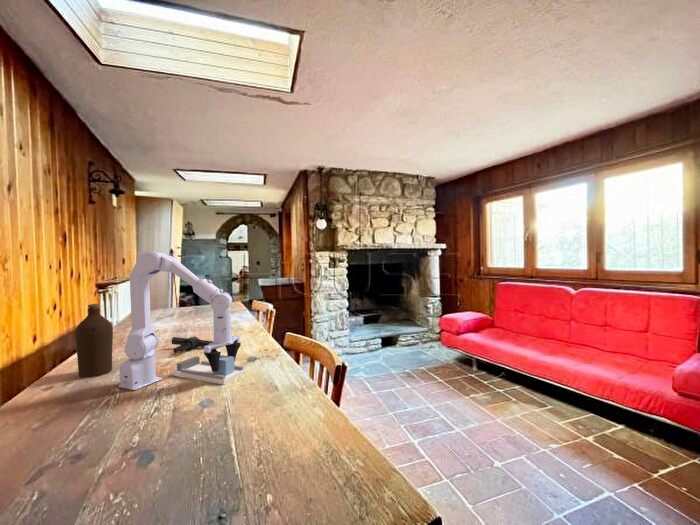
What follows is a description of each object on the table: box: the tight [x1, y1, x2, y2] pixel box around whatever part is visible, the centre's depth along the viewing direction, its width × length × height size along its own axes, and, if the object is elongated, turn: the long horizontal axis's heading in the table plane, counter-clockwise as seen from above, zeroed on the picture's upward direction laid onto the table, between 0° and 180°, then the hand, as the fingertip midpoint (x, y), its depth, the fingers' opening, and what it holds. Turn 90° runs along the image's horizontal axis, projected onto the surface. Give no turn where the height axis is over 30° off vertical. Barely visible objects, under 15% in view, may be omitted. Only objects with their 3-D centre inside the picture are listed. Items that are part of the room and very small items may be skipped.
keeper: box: [212, 354, 235, 375], centre depth 108 cm, size 4×6×5 cm, turn 69°
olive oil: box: [74, 303, 114, 378], centre depth 113 cm, size 11×11×25 cm
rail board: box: [172, 355, 246, 385], centre depth 110 cm, size 10×23×4 cm, turn 69°
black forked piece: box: [171, 335, 214, 354], centre depth 137 cm, size 5×20×15 cm
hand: (223, 367), depth 108 cm, fingers open, 7 cm apart
